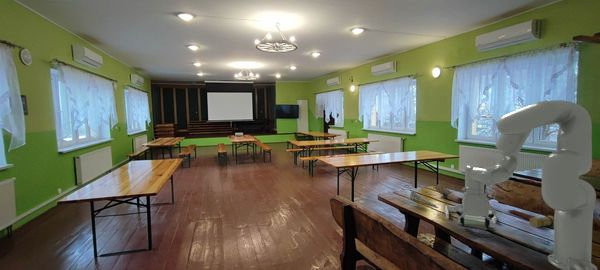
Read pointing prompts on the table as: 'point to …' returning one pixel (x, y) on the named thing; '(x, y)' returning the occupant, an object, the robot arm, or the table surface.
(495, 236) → the table surface
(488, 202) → the hand bell
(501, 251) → the table surface
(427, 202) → the caliper
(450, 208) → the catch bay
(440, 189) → the antique flintlock pistol
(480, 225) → the pale green block
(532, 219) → the gavel
